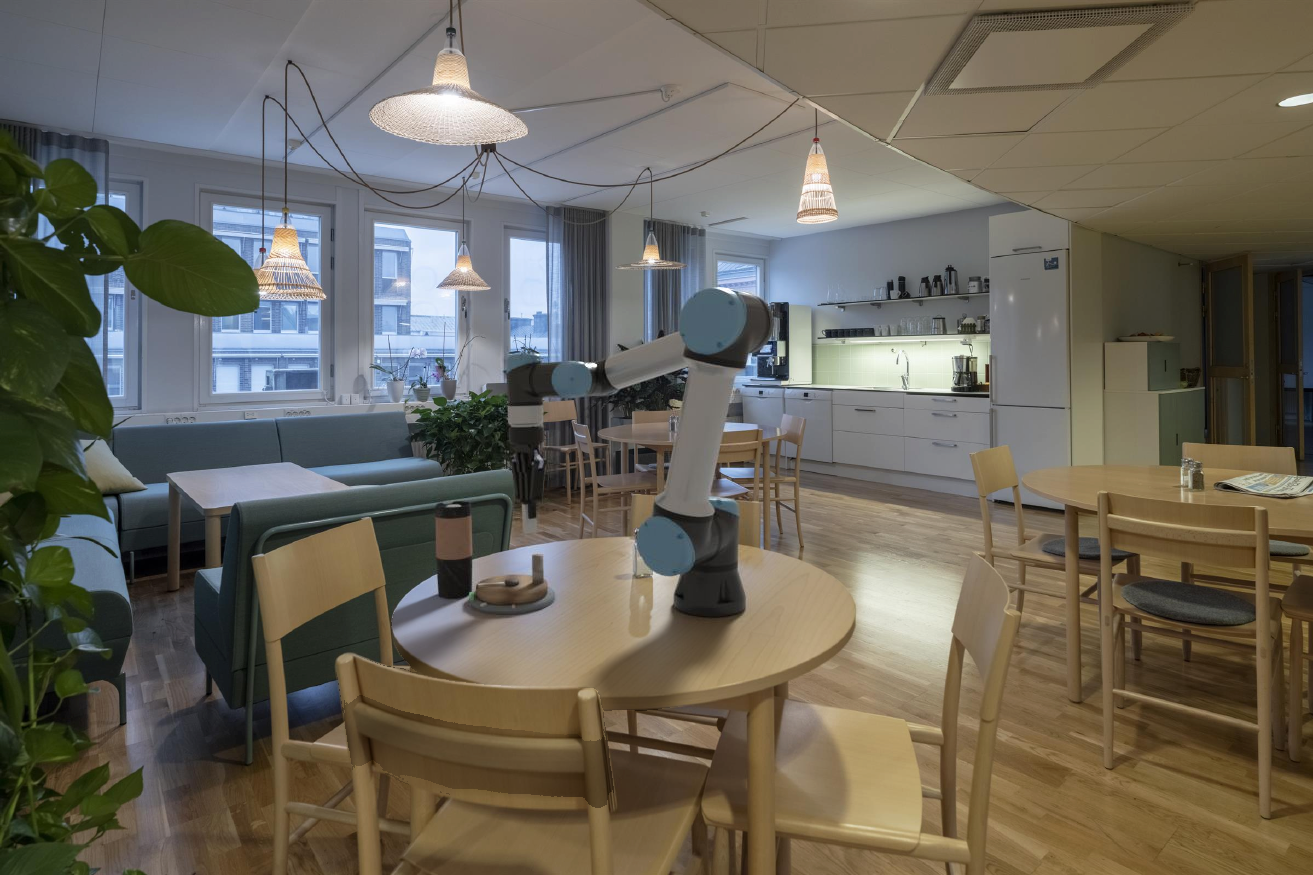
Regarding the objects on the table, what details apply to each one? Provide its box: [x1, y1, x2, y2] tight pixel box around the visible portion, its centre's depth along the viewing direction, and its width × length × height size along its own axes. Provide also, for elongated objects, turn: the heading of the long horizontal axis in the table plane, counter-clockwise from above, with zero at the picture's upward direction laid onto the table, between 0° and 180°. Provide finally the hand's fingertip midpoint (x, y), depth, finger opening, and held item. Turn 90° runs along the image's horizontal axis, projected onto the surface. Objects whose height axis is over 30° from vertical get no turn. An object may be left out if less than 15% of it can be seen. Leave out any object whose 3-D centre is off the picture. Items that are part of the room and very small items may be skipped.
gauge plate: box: [468, 586, 556, 615], centre depth 157 cm, size 18×18×2 cm
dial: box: [475, 553, 549, 605], centre depth 156 cm, size 15×15×8 cm
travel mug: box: [434, 500, 473, 600], centre depth 160 cm, size 8×8×20 cm
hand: (530, 532), depth 161 cm, fingers closed
